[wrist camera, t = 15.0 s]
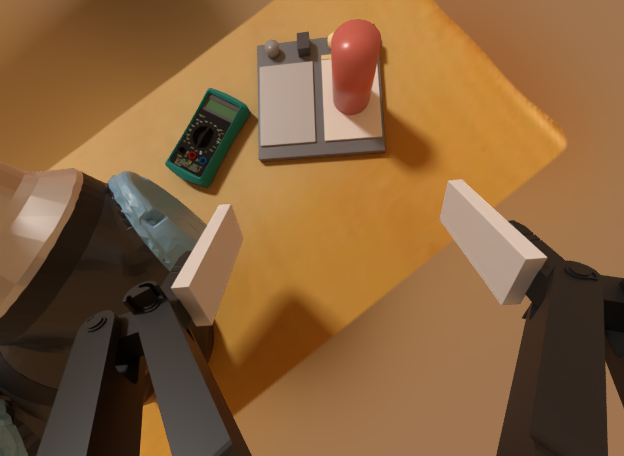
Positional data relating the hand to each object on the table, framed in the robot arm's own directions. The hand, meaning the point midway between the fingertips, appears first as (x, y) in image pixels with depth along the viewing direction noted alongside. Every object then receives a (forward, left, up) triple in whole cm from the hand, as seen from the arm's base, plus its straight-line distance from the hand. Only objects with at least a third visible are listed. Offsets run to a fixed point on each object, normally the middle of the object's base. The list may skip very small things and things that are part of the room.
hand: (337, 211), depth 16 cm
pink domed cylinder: (+3, +21, -20) cm, 29 cm away
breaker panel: (-2, +22, -21) cm, 31 cm away
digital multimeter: (-20, +16, -22) cm, 34 cm away
